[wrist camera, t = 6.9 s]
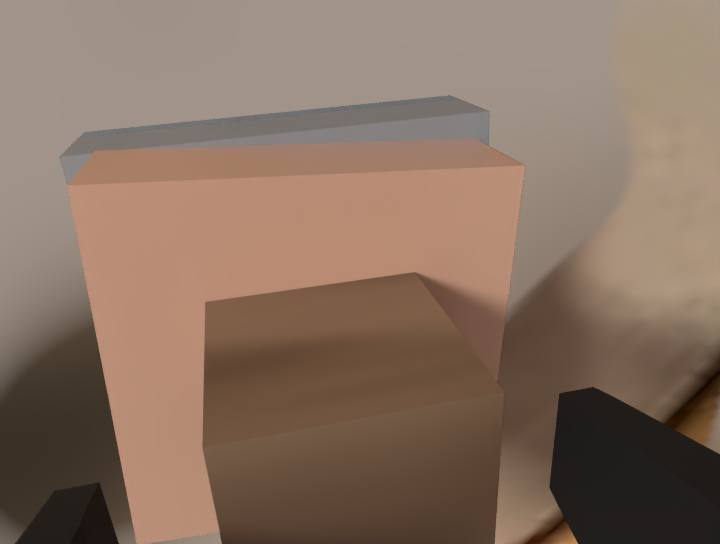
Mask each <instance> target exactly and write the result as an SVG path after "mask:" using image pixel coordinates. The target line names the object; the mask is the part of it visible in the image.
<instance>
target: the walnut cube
mask: <svg viewBox="0 0 720 544" xmlns="http://www.w3.org/2000/svg"><path fill="white" fill-rule="evenodd" d="M503 407H504V390H503V389H502V388H501V386H500V385H499V384H498V382H497V381H496V380H495V378H494V377H493V376H492V374H491V373H490V372H489V370H488V369H487V368H486V366H485V365H484V364H483V362H482V361H481V360H480V358H479V357H478V356H477V354H476V353H475V352H474V350H473V349H472V348H471V346H470V345H469V344H468V342H467V341H466V340H465V338H464V337H463V336H462V334H461V333H460V332H459V330H458V329H457V328H456V326H455V325H454V324H453V322H452V321H451V320H450V318H449V317H448V316H447V314H446V313H445V312H444V310H443V309H442V308H441V306H440V305H439V304H438V302H437V301H436V300H435V298H434V297H433V296H432V294H431V293H430V292H429V290H428V289H427V288H426V286H425V285H424V284H423V282H422V281H421V280H420V278H419V277H418V276H417V274H416V273H415V272H412V273H405V274H398V275H391V276H384V277H377V278H370V279H363V280H356V281H349V282H342V283H335V284H328V285H321V286H314V287H307V288H300V289H293V290H286V291H279V292H272V293H265V294H258V295H251V296H244V297H237V298H230V299H223V300H216V301H209V302H205V339H204V391H203V442H202V449H203V453H204V458H205V463H206V468H207V473H208V478H209V483H210V487H211V492H212V497H213V502H214V507H215V512H216V517H217V521H218V526H219V531H220V535H221V541H222V544H494V543H495V528H496V513H497V498H498V482H499V467H500V452H501V437H502V422H503Z"/></svg>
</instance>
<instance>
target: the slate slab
mask: <svg viewBox="0 0 720 544" xmlns="http://www.w3.org/2000/svg"><path fill="white" fill-rule="evenodd" d="M468 138H475V139H477V140H479V141H481V142H482V143H484V144H486V145H488V142H489V111H487V110H485V109H483V108H480V107H478V106H475V105H473V104H470V103H468V102H465V101H463V100H460V99H458V98H456V97H453V96H450V95H448V96H438V97H429V98H418V99H409V100H399V101H389V102H379V103H369V104H360V105H349V106H339V107H329V108H319V109H309V110H299V111H290V112H279V113H269V114H259V115H249V116H239V117H229V118H220V119H209V120H201V121H189V122H179V123H170V124H160V125H149V126H139V127H130V128H119V129H109V130H99V131H89V132H84V133H83V134H82V135H81V136H80V137H79V138H78V139H77V140H76V141H75V142H74V143H73V144H72V145H71V146H70V147H69V148H68V149H67V150H66V151H65V152H64V153H63V154H62V155H61V156H60V161H61V164H62V168H63V172H64V175H65V179H66V182H67V186H68V184H69V183H70V182H71V181H72V179H73V178H74V177H75V176H76V174H77V173H78V172H79V171H80V169H81V168H82V167H83V166H84V164H85V163H86V162H87V161H88V159H89V158H90V157H91V156H92V154H93V153H94V152H95V151H102V150H134V149H164V148H194V147H225V146H255V145H285V144H316V143H346V142H377V141H407V140H437V139H468Z"/></svg>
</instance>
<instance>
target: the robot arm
mask: <svg viewBox="0 0 720 544" xmlns="http://www.w3.org/2000/svg"><path fill="white" fill-rule="evenodd" d="M549 488H550V490H551V492H552V494H553V496H554V498H555V500H556V502H557V504H558V506H559V508H560V510H561V512H562V514H563V516H564V518H565V520H566V522H567V523H568V525H569V527H570V529H571V531H572V533H573V535H574V537H575V538H576V540H577V542H578V544H720V454H718V453H716V452H714V451H713V450H711V449H709V448H707V447H705V446H703V445H701V444H699V443H698V442H696V441H694V440H692V439H690V438H688V437H686V436H685V435H683V434H681V433H679V432H677V431H675V430H674V429H672V428H670V427H668V426H666V425H664V424H663V423H661V422H659V421H657V420H655V419H653V418H652V417H650V416H648V415H646V414H644V413H642V412H641V411H639V410H637V409H635V408H633V407H631V406H629V405H628V404H626V403H624V402H622V401H620V400H618V399H616V398H614V397H612V396H610V395H608V394H606V393H604V392H602V391H600V390H598V389H596V388H594V387H591V388H586V389H581V390H576V391H570V392H565V393H560V394H559V403H558V412H557V421H556V431H555V440H554V450H553V459H552V468H551V478H550V487H549ZM15 544H119V543H118V540H117V537H116V534H115V531H114V528H113V524H112V521H111V518H110V515H109V512H108V509H107V505H106V502H105V499H104V496H103V493H102V490H101V487H100V483H94V484H89V485H83V486H78V487H73V488H68V489H62V490H58V491H54V492H53V493H52V495H51V496H50V497H49V498H48V499H47V501H46V502H45V503H44V505H43V506H42V507H41V509H40V510H39V511H38V513H37V514H36V516H35V517H34V518H33V520H32V521H31V523H30V524H29V525H28V526H27V528H26V529H25V531H24V532H23V534H22V535H21V536H20V538H19V539H18V540H17V542H16V543H15Z"/></svg>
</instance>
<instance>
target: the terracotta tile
mask: <svg viewBox="0 0 720 544" xmlns="http://www.w3.org/2000/svg"><path fill="white" fill-rule="evenodd" d="M525 167H526V166H525V165H524V164H522V163H520V162H518V161H516V160H514V159H512V158H510V157H509V156H507V155H505V154H503V153H501V152H499V151H497V150H496V149H494V148H492V147H490V146H488V145H486V144H484V143H482V142H481V141H479V140H477V139H475V138H468V139H437V140H407V141H377V142H346V143H316V144H285V145H255V146H225V147H194V148H164V149H134V150H102V151H95V152H94V153H93V154H92V156H91V157H90V158H89V159H88V161H87V162H86V163H85V164H84V166H83V167H82V168H81V169H80V171H79V172H78V173H77V174H76V176H75V177H74V178H73V179H72V181H71V182H70V183H69V184H68V191H69V196H70V201H71V206H72V211H73V216H74V221H75V227H76V232H77V237H78V242H79V248H80V252H81V258H82V263H83V268H84V273H85V278H86V284H87V289H88V294H89V299H90V304H91V310H92V315H93V320H94V324H95V330H96V335H97V340H98V346H99V351H100V356H101V361H102V366H103V371H104V377H105V382H106V387H107V392H108V397H109V403H110V408H111V413H112V418H113V423H114V428H115V434H116V438H117V444H118V449H119V454H120V459H121V464H122V470H123V475H124V480H125V485H126V490H127V496H128V501H129V506H130V511H131V516H132V521H133V526H134V532H135V537H136V542H137V544H148V543H155V542H161V541H166V540H173V539H179V538H186V537H192V536H198V535H205V534H210V533H217V532H220V531H219V526H218V521H217V517H216V512H215V507H214V502H213V497H212V492H211V487H210V483H209V478H208V473H207V468H206V463H205V458H204V453H203V449H202V442H203V391H204V339H205V302H209V301H216V300H223V299H230V298H237V297H244V296H251V295H258V294H265V293H272V292H279V291H286V290H293V289H300V288H307V287H314V286H321V285H328V284H335V283H342V282H349V281H356V280H363V279H370V278H377V277H384V276H391V275H398V274H405V273H412V272H415V273H416V274H417V276H418V277H419V278H420V280H421V281H422V282H423V284H424V285H425V286H426V288H427V289H428V290H429V292H430V293H431V294H432V296H433V297H434V298H435V300H436V301H437V302H438V304H439V305H440V306H441V308H442V309H443V310H444V312H445V313H446V314H447V316H448V317H449V318H450V320H451V321H452V322H453V324H454V325H455V326H456V328H457V329H458V330H459V332H460V333H461V334H462V336H463V337H464V338H465V340H466V341H467V342H468V344H469V345H470V346H471V348H472V349H473V350H474V352H475V353H476V354H477V356H478V357H479V358H480V360H481V361H482V362H483V364H484V365H485V366H486V368H487V369H488V370H489V372H490V373H491V374H492V376H493V377H494V378H495V380H496V381H497V382H498V374H499V367H500V359H501V351H502V344H503V336H504V328H505V321H506V313H507V305H508V298H509V290H510V282H511V275H512V267H513V258H514V251H515V244H516V236H517V228H518V221H519V213H520V205H521V197H522V190H523V182H524V175H525Z"/></svg>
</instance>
